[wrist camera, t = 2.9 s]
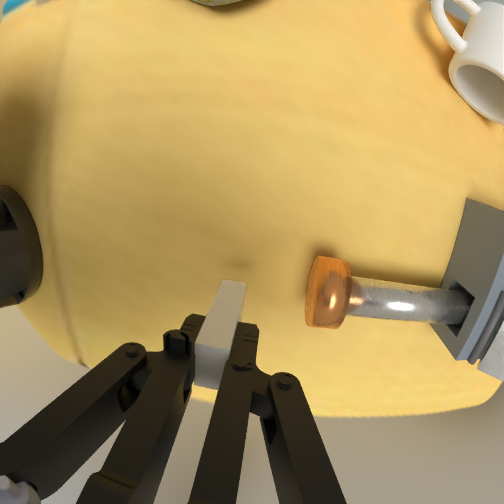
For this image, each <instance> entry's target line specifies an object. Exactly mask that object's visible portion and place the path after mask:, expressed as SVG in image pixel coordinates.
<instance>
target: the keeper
mask: <svg viewBox="0 0 504 504" xmlns="http://www.w3.org/2000/svg"><path fill="white" fill-rule="evenodd" d="M477 369H478V370H480V371H482V372H484V373H486V374H489V375H491V376H493V377H495V378H497V379H499V380H501V381H504V316H503V318H502V320H501V322H500V324H499V326H498V328H497V330H496V332H495V334H494V336H493V338H492V340H491V342H490V344H489V345H488V347H487V349H486V351H485V352H484V354H483V356H482V358H481V359H480V361H479V363H478V364H477Z"/></svg>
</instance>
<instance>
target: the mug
mask: <svg viewBox="0 0 504 504" xmlns="http://www.w3.org/2000/svg"><path fill="white" fill-rule="evenodd" d="M453 1H455V2H456V3H458V4H459V5H461V6H462V7H463V8H464V9H466V10H467V11H468V12H469V13H470V14H471V16H470V18H469V21H468V23H467V26H466V28H465V31H464V33H463V35H462V38H461V37H460V35H459V34H458V33H457V32H456V31H455V29H454V28H453V27H452V25H451V24H450V22H449V21H448V19H447V17H446V15H445V12H444V8H443V3H444V0H431V14H432V18H433V20H434V23H435V25H436V27H437V29H438V30H439V32H440V34H441V35H442V37H443V38H444V39H445V41H446V42H447V43H448V44H449V45H450V47H451V48H452V49H453V50H454V51H455V54H454V56H453V58H452V60H451V62H450V64H449V68H448V73H449V78H450V80H451V83H452V85H453V86H454V88H455V90H456V91H457V92H458V94H459V95H460V96H461V97H462V98H463V99H464V101H465V102H466V103H468V104H469V105H470V106H471V107H472V108H473V109H474V110H476V111H477V112H478V113H480V114H481V115H483V116H484V117H486V118H487V119H489V120H491V121H493V122H495V123H497V124H500V125H503V126H504V5H501V4H499V3H495V2H482V3H479V4H475V3H474V2H473V1H472V0H453Z"/></svg>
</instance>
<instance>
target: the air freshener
mask: <svg viewBox="0 0 504 504" xmlns="http://www.w3.org/2000/svg"><path fill="white" fill-rule="evenodd" d="M193 1H195V2H198V3H201V4H204V5H208V6H217V5H225V4H229V3H234V2H238V1H241V0H193Z"/></svg>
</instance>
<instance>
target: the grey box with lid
mask: <svg viewBox="0 0 504 504" xmlns="http://www.w3.org/2000/svg"><path fill="white" fill-rule="evenodd" d="M440 289H446V290H454V291H461V292H468V293H470V294H472V295H473V296H474V297H475V299H474V302H473V304H472V306H471V309H470V311H469V313H468V315H467V317H466V319H465V322H464V324H463V325H461V324H441V323H429V324H430V325H431V327H432V328H433V329H434V331H435V332H436V333H437V335H438V336H439V337H440V339H441V340H442V342H443V343H444V344H445V346H446V347H447V349H448V350H449V351H450V353H451V354H452V356H453V357H454V359H455V360H467V361H468V362H469V363H470V364H472V365H473V364H475V362H476V360H477V359H481V358H482V356H483V354H484V352H485V351H486V349H487V347H488V345H489V344H490V342H491V340H492V338H493V336H494V334H495V332H496V330H497V328H498V326H499V324H500V322H501V320H502V318H503V316H504V211H502V210H499V209H496V208H494V207H491V206H488V205H486V204H483V203H480V202H477V201H474V200H471V199H469V198H467V199H466V203H465V208H464V212H463V216H462V220H461V224H460V228H459V232H458V235H457V239H456V242H455V246H454V249H453V252H452V256H451V259H450V262H449V265H448V268H447V271H446V273H445V276H444V279H443V282H442V284H441V287H440Z"/></svg>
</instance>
